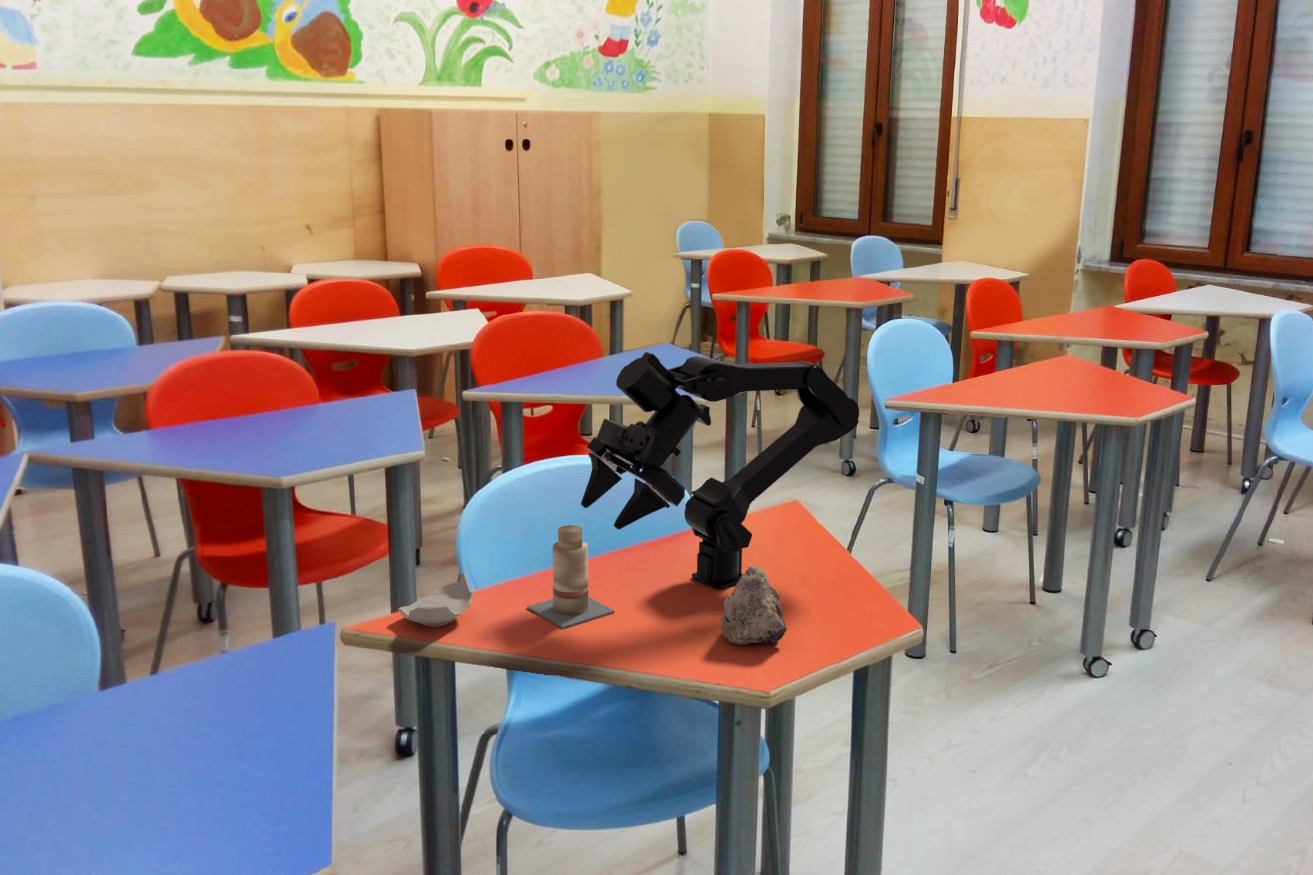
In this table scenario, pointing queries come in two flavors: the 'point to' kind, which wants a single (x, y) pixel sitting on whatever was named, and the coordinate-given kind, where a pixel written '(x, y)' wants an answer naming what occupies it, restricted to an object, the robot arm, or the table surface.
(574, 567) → the skittle
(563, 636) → the table surface
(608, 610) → the mat
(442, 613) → the pottery shard
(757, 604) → the rock
